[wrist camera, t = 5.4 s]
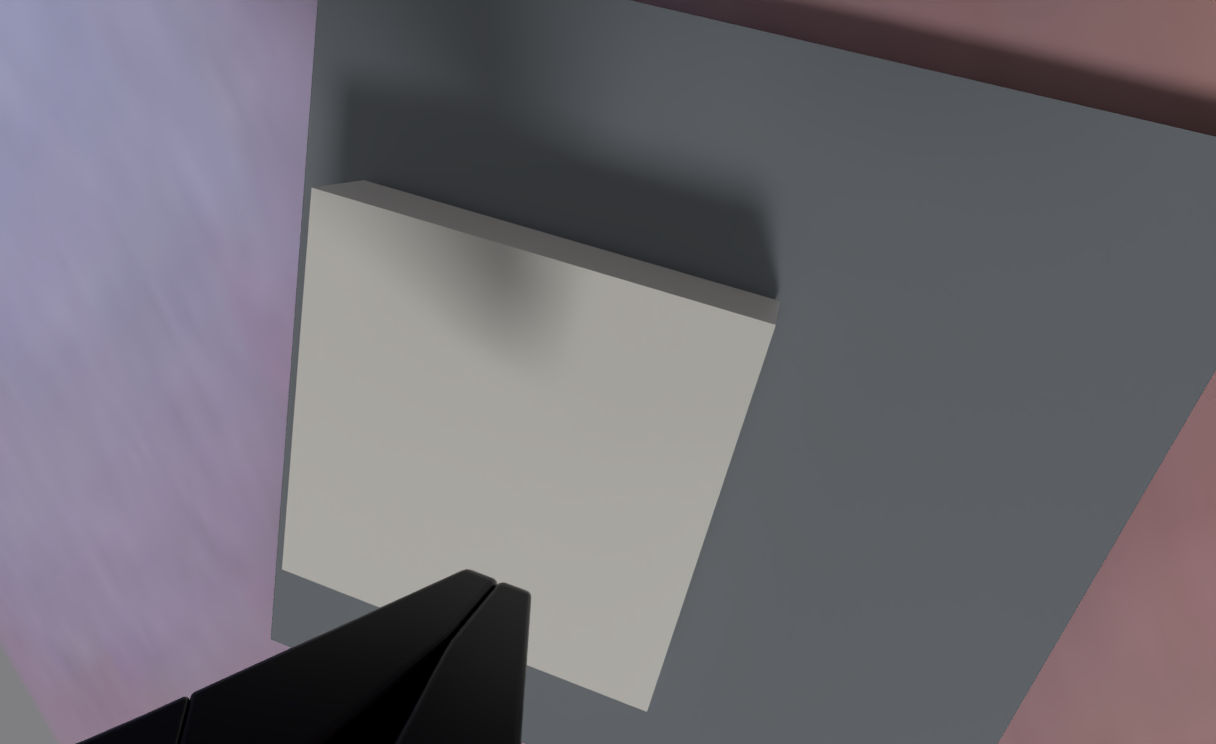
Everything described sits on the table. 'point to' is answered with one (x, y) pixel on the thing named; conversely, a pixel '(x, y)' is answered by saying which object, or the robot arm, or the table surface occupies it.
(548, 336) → the glazed tile
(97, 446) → the table surface
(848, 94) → the rubber mat
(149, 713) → the robot arm
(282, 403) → the table surface
